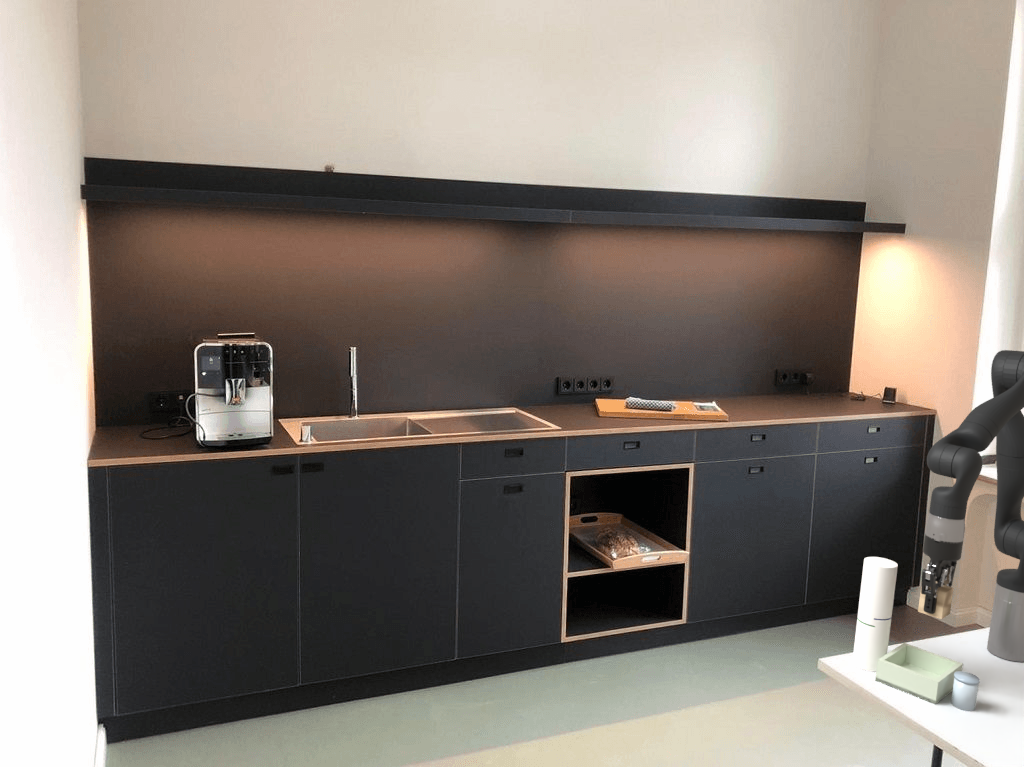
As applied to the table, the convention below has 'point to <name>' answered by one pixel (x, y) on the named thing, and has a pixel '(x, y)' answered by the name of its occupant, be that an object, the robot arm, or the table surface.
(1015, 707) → the table surface
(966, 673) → the ceramic jar
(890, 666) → the crate
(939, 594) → the oak block
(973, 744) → the table surface
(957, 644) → the table surface
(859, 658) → the cylindrical container
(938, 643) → the table surface
